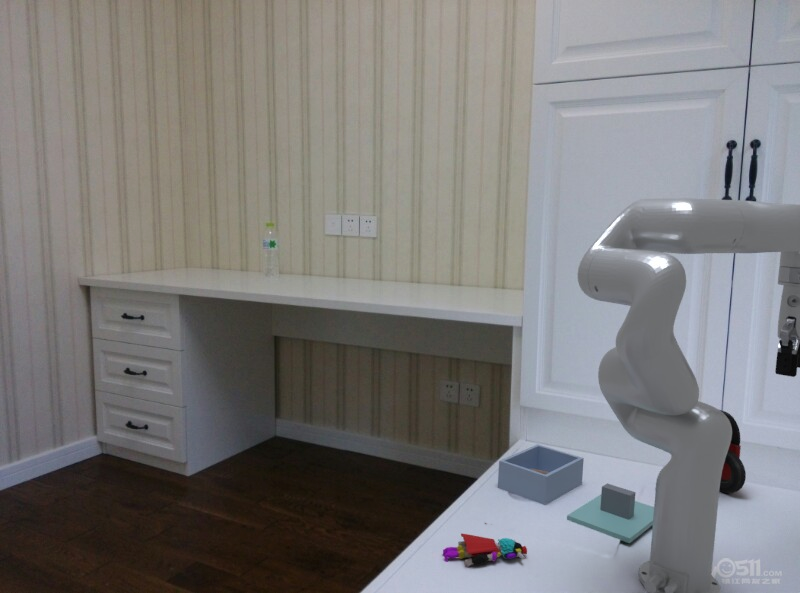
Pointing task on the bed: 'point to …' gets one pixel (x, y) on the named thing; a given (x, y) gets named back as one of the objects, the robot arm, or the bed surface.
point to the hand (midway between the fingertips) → (792, 371)
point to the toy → (484, 549)
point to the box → (535, 484)
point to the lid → (615, 514)
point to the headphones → (733, 462)
